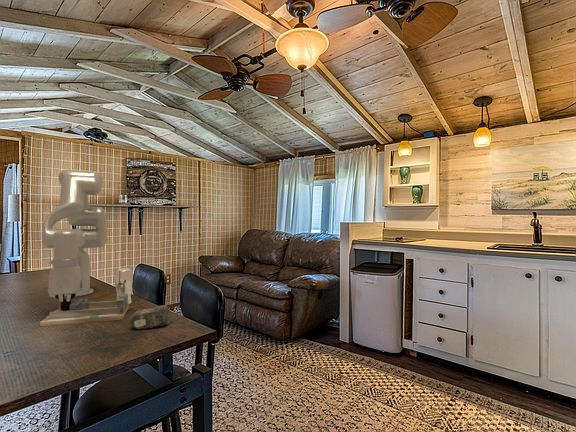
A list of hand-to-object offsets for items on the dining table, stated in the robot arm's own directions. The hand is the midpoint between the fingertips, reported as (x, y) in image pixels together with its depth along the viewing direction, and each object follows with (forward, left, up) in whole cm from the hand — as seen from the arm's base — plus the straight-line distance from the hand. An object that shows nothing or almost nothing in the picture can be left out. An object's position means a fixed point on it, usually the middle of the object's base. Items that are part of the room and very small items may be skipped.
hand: (65, 311), depth 125 cm
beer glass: (-15, +18, -3) cm, 23 cm away
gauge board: (0, +8, -3) cm, 8 cm away
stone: (+18, +32, -3) cm, 37 cm away
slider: (+2, +4, -1) cm, 5 cm away
